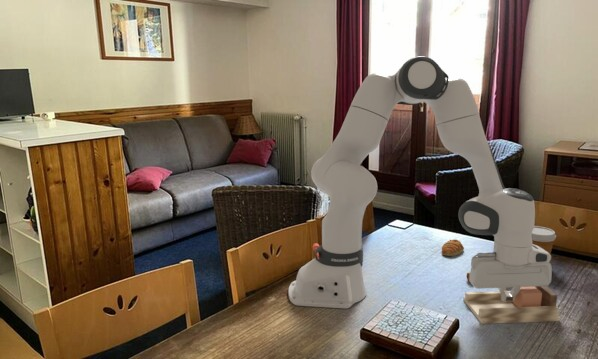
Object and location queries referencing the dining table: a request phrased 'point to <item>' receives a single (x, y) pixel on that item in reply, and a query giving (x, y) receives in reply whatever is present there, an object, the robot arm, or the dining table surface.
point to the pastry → (452, 248)
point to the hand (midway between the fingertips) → (507, 301)
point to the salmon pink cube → (528, 297)
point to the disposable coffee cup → (543, 238)
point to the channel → (511, 308)
